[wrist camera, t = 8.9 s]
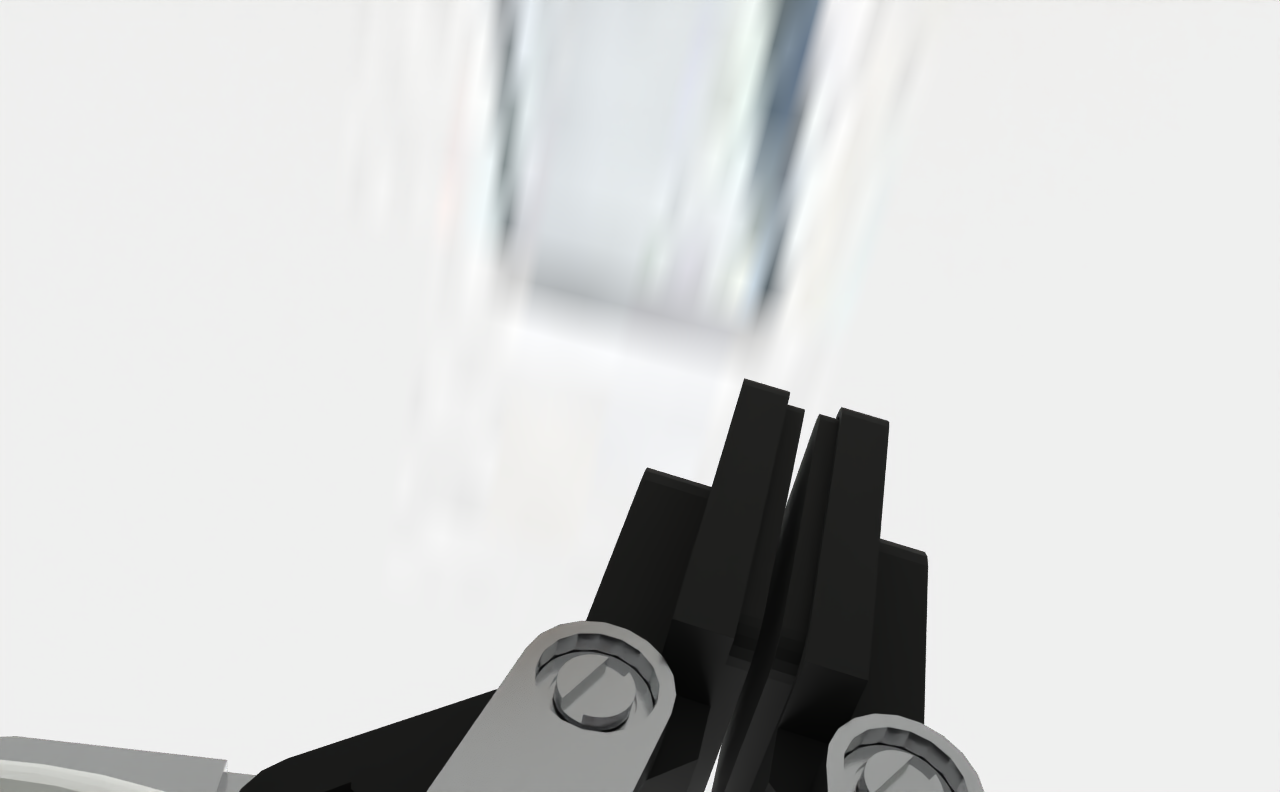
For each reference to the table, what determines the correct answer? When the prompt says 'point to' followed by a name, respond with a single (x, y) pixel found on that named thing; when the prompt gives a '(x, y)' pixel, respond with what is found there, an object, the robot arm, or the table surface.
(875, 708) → the robot arm
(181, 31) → the table surface
